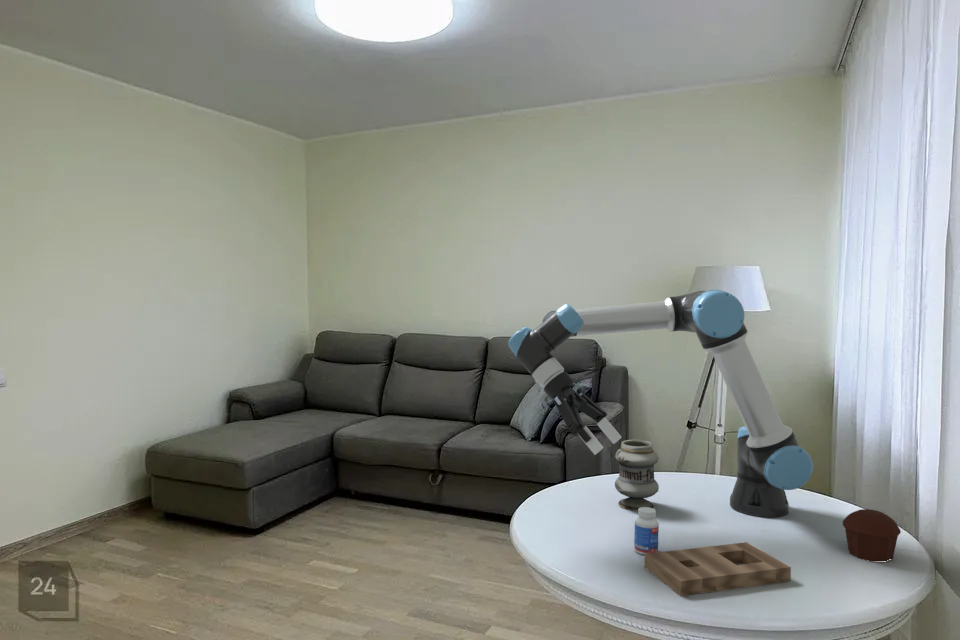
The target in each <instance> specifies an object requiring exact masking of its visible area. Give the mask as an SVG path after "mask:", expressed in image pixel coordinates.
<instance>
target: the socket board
mask: <svg viewBox="0 0 960 640" xmlns="http://www.w3.org/2000/svg"><path fill="white" fill-rule="evenodd" d="M644 569H646V570H647V569H648V570H649V571H648V570H647V571H648V572H650V573H651V574H652V573H653V574H654V575H653V574H652V575H653V576H655V577H656V578H657V579H658V580H660V581H661V582H662V583H664V585H666V586H667V587H669V588H670V589H671V590H672V591H673V592H675V593H676V594H677V595H679V597H684V596H690V595H691V596H692V595H698V594H706V593H713V592H720V591H727V590H734V589H735V590H736V589H737V590H738V589H742V588H750V587H757V586H765V585H772V584H780V583H781V584H782V583H787V582H791V580H792V579H791V578H792V577H791V576H792V570H791V569H792V567H791V566H790V565H788V564H787V563H784V562H783V561H781V560H779V559H777V558H775V557H773V556H772V555H770V554H769V553H766V552H765V551H763V550H761V549H759V548H757V547H756V546H754V545H752V544H751V543H748V542H747V541H746V542H738V543H735V542H734V543H727V544H719V545H708V546H701V547H693V548H692V547H691V548H684V549H676V550H675V549H674V550H667V551H666V550H665V551H658V552H656V553H647V554H645V555H644Z"/></svg>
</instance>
